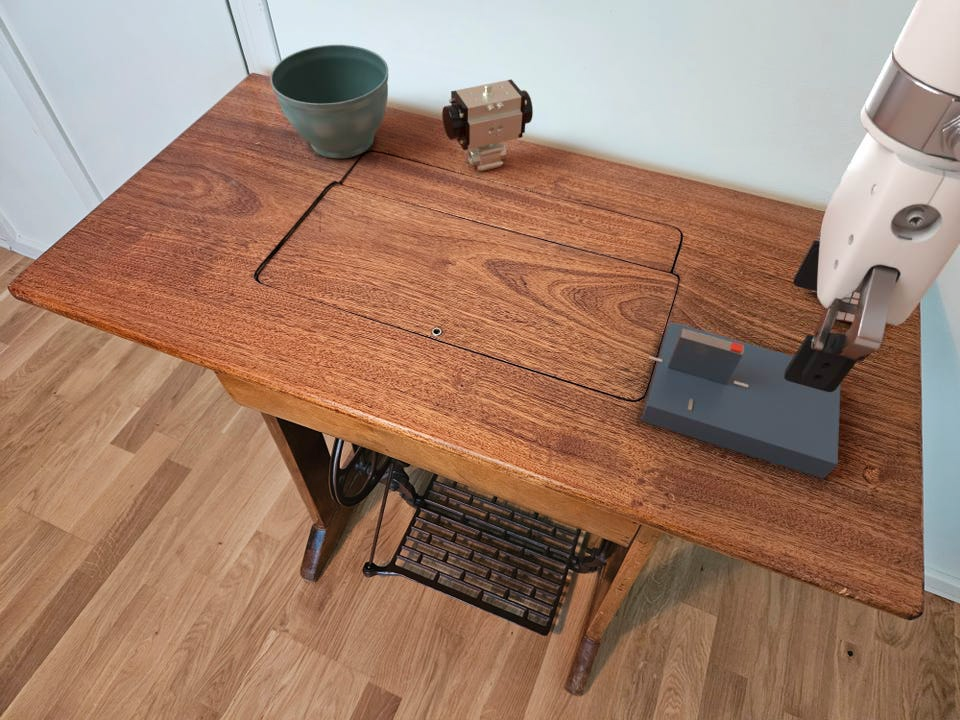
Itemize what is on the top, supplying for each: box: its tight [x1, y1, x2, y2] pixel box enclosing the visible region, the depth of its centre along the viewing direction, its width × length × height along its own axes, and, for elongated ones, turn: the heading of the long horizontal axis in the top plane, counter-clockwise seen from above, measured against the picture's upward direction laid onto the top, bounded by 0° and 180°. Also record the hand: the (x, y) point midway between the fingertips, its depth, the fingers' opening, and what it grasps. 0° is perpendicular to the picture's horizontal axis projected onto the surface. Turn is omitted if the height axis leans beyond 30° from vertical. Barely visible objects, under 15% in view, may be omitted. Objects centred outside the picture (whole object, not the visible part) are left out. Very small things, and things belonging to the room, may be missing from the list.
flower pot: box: [269, 44, 389, 159], centre depth 90 cm, size 16×16×11 cm
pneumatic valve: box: [441, 79, 534, 172], centre depth 86 cm, size 6×12×12 cm, turn 112°
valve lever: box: [668, 329, 744, 385], centre depth 62 cm, size 6×1×5 cm, turn 69°
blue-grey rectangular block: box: [640, 321, 841, 480], centre depth 64 cm, size 19×12×3 cm, turn 69°
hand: (811, 332), depth 44 cm, fingers open, 9 cm apart
